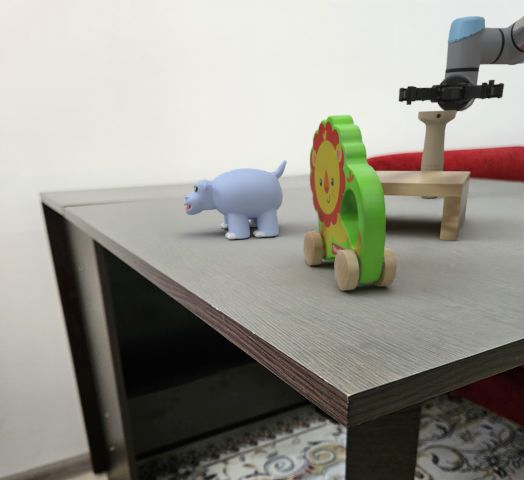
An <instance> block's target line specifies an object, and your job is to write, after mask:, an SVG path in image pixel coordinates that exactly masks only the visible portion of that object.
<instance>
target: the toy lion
mask: <svg viewBox="0 0 524 480" xmlns="http://www.w3.org/2000/svg"><path fill="white" fill-rule="evenodd" d="M367 156H368V155H367V148H366V145H365V143H364V141H363V136H362V131H361V129H360V127H359V125H357V124H355V122H354V119H353V117H352V115H350V114H341V115H337V114H336V115H329V116H327V118H326V119H322V120H321V121H320V123H319V125H318V129H316V130H315V132H314V133H313V137H312V146H311V148H310V152H309V170H310V171H309V187H310V191H311V194H312V204H313V208H314V211H315V212H316V213H317V221H318V231H316V230H312V231H311V230H310V231H307V232H306V233H305V235H304V238H303V256H304V260H305V263H306V264H307V265H308V266H320V265H321V264H322V262H323V260H324V261H326V262H327V261H334V264H333V271H334V272H333V273H334V279H335V283H336V286H337V288H338V289H339V290H340V291H353V290H355V289H356V288H357V287H358V284H367V283H371V282H372V283H373V285H374V286H376V287H388V286H391V284H392V283H394V281H395V278H396V275H397V260H396V256H395V253H394V251H393V250H392V249H391V248H389V247H386V232H387V231H386V230H387V229H386V227H387V217H386V216H387V215H386V201H385V195H384V194H383V189H382V185H381V182H380V179H379V177H378V175H377V173H376V172H375V171H376V170H375V169H374V167H373V166H371V165H370V164H369V162H368V157H367Z"/></svg>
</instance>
